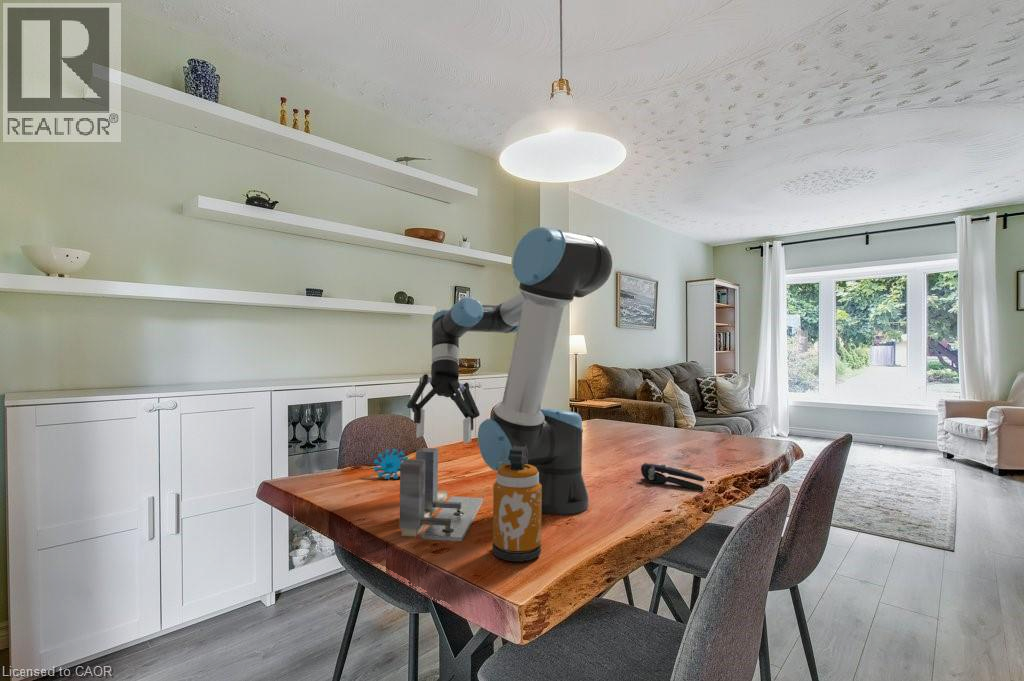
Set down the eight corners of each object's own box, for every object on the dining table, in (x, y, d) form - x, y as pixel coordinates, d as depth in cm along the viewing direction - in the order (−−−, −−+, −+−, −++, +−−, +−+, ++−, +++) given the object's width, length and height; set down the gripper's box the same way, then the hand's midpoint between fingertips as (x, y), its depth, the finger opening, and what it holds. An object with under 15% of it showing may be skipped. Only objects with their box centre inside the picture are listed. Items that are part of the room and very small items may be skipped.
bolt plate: (451, 499, 121) (451, 496, 121) (482, 501, 120) (483, 497, 120) (422, 539, 96) (422, 534, 96) (461, 541, 95) (461, 537, 95)
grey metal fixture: (433, 496, 123) (434, 439, 123) (472, 498, 122) (473, 440, 122) (399, 535, 97) (400, 463, 98) (447, 538, 96) (448, 465, 96)
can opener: (636, 483, 139) (637, 463, 139) (645, 477, 144) (645, 458, 144) (701, 494, 129) (701, 473, 129) (707, 487, 134) (707, 467, 134)
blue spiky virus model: (368, 475, 136) (378, 445, 144) (370, 485, 141) (379, 456, 148) (407, 480, 137) (415, 450, 144) (408, 490, 141) (415, 461, 148)
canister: (488, 562, 86) (489, 449, 86) (499, 538, 97) (500, 438, 97) (538, 566, 84) (539, 452, 85) (544, 541, 95) (545, 440, 96)
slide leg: (420, 506, 112) (421, 447, 112) (462, 508, 111) (463, 449, 111) (415, 512, 108) (415, 451, 108) (459, 514, 107) (459, 453, 107)
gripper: (476, 376, 142) (478, 448, 133) (396, 359, 129) (392, 437, 119) (490, 367, 137) (493, 441, 128) (409, 348, 124) (405, 429, 114)
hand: (444, 439), depth 123 cm, fingers open, 13 cm apart
